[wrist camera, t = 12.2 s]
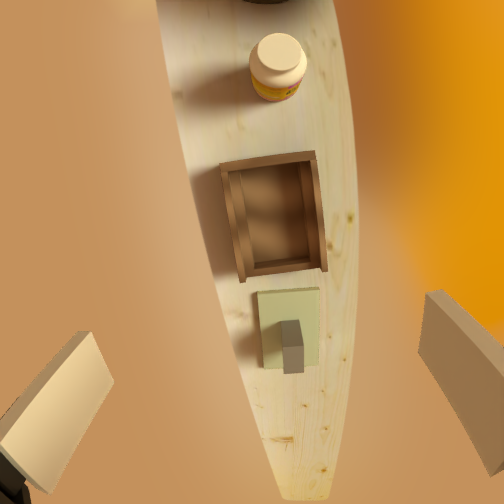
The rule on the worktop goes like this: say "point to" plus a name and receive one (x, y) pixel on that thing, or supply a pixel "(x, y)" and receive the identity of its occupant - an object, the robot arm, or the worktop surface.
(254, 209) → the box
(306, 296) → the lid
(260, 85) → the supplement bottle
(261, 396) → the worktop surface
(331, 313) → the worktop surface
